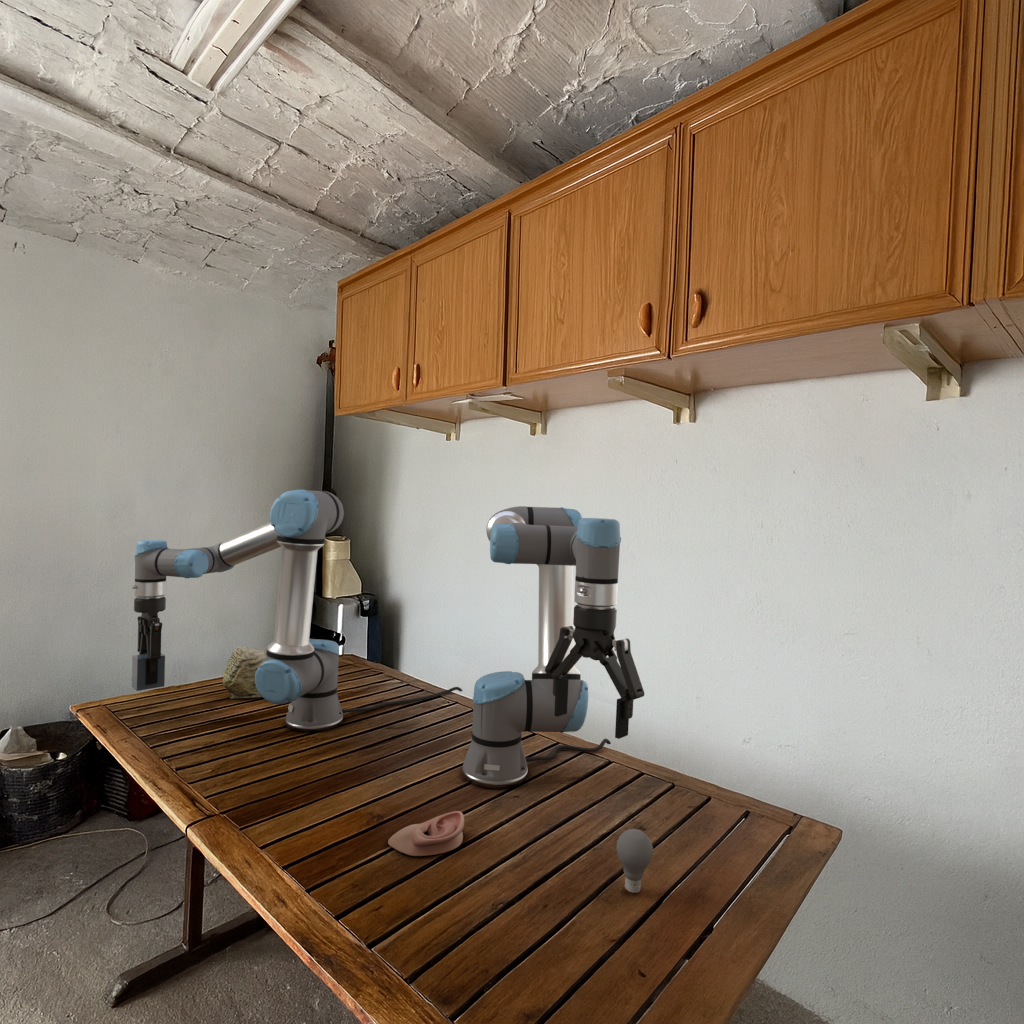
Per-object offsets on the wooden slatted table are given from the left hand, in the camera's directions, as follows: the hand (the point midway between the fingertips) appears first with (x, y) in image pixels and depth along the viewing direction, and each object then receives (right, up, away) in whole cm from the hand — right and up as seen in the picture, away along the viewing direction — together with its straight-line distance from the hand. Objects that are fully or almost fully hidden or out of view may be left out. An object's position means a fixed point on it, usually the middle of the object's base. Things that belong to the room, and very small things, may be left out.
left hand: (148, 681), depth 173 cm
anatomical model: (+84, -15, -55) cm, 101 cm away
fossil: (+19, -11, +25) cm, 33 cm away
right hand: (+113, +9, -61) cm, 129 cm away
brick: (0, -1, 0) cm, 1 cm away
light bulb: (+120, -17, -68) cm, 138 cm away
